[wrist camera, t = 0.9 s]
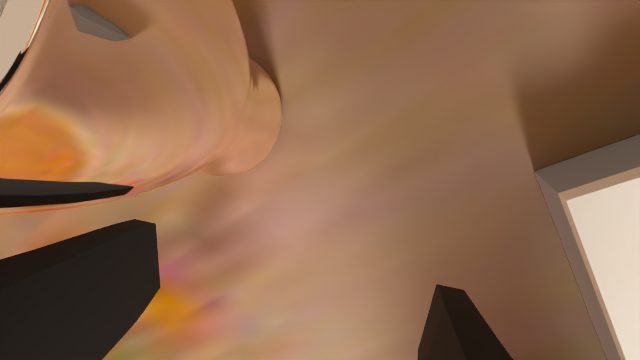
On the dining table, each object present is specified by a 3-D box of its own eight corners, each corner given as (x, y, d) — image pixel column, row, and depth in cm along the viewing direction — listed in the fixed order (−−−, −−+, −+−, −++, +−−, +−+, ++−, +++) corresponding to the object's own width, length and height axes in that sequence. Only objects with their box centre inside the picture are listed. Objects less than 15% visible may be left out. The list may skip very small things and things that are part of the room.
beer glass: (260, 21, 18) (-107, -708, 3) (312, 153, 18) (210, 84, 3) (131, 75, 18) (-778, -339, 3) (183, 205, 18) (-469, 367, 3)
